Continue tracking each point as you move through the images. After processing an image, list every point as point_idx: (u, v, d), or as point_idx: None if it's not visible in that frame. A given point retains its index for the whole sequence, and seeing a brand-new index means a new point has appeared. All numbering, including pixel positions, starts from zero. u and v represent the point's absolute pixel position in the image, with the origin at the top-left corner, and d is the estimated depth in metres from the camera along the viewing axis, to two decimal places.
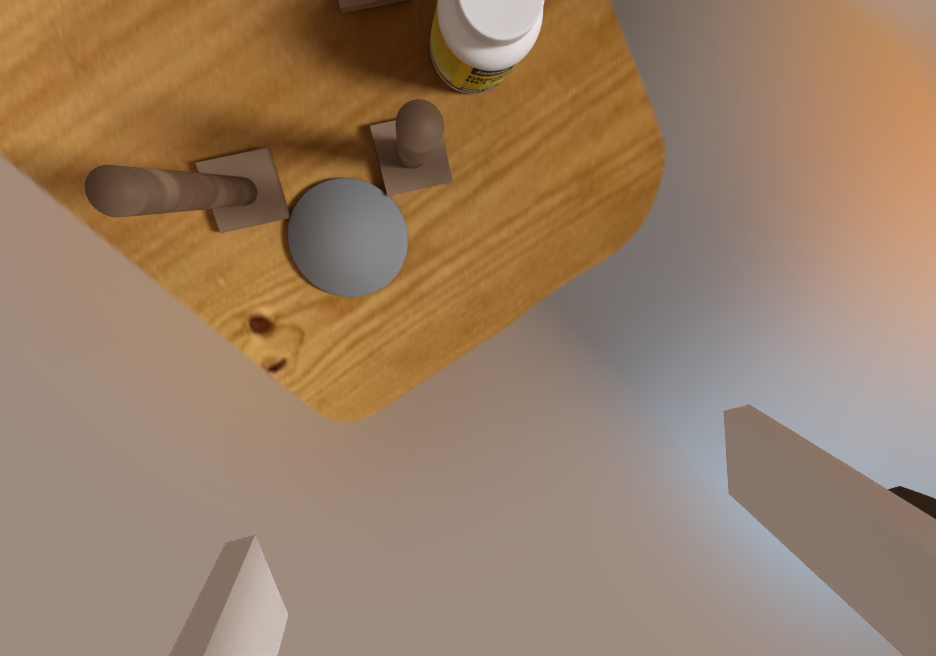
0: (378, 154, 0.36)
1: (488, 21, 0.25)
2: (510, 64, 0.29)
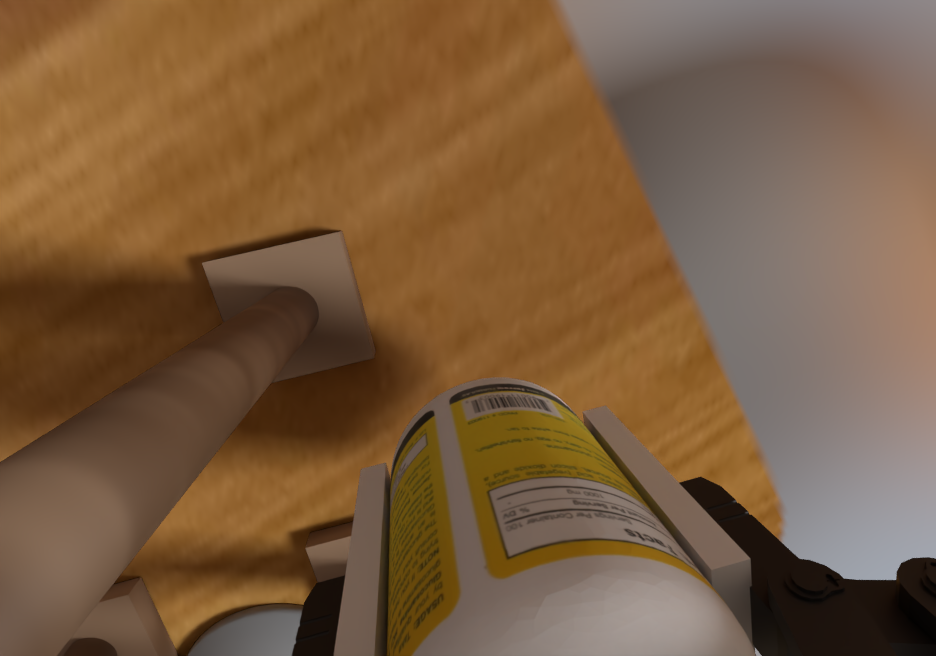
0: None
1: None
2: None
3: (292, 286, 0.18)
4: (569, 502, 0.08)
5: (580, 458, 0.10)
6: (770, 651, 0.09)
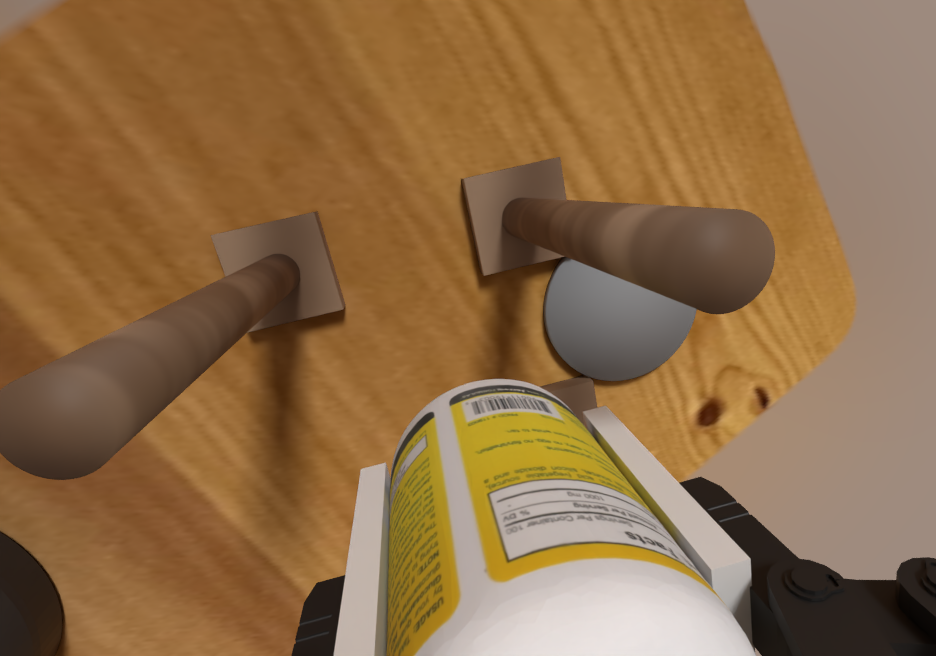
0: (520, 265, 0.26)
1: None
2: None
3: None
4: (570, 505, 0.08)
5: (580, 461, 0.10)
6: (770, 651, 0.09)
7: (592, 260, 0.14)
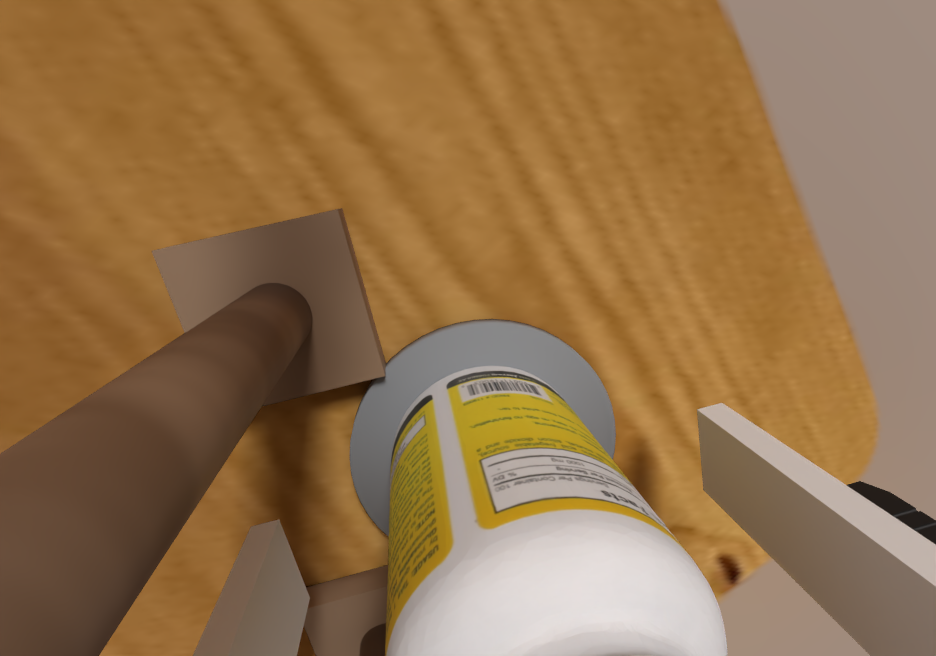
0: (285, 397, 0.14)
1: None
2: None
3: None
4: (553, 468, 0.09)
5: (565, 434, 0.11)
6: None
7: None
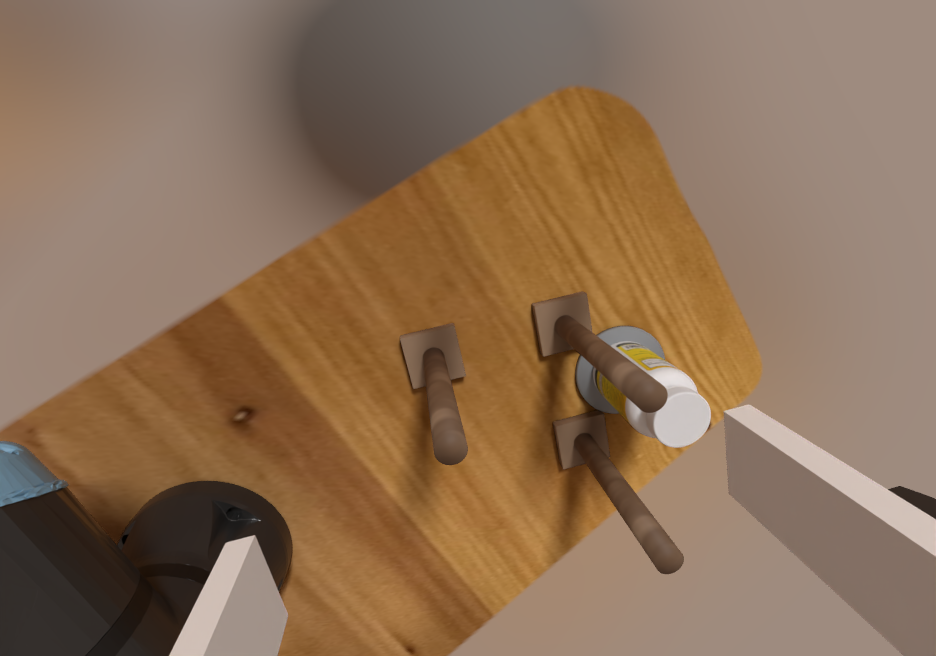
0: (563, 350, 0.46)
1: (671, 438, 0.37)
2: None
3: (422, 357, 0.44)
4: (660, 362, 0.41)
5: (659, 357, 0.42)
6: None
7: None
